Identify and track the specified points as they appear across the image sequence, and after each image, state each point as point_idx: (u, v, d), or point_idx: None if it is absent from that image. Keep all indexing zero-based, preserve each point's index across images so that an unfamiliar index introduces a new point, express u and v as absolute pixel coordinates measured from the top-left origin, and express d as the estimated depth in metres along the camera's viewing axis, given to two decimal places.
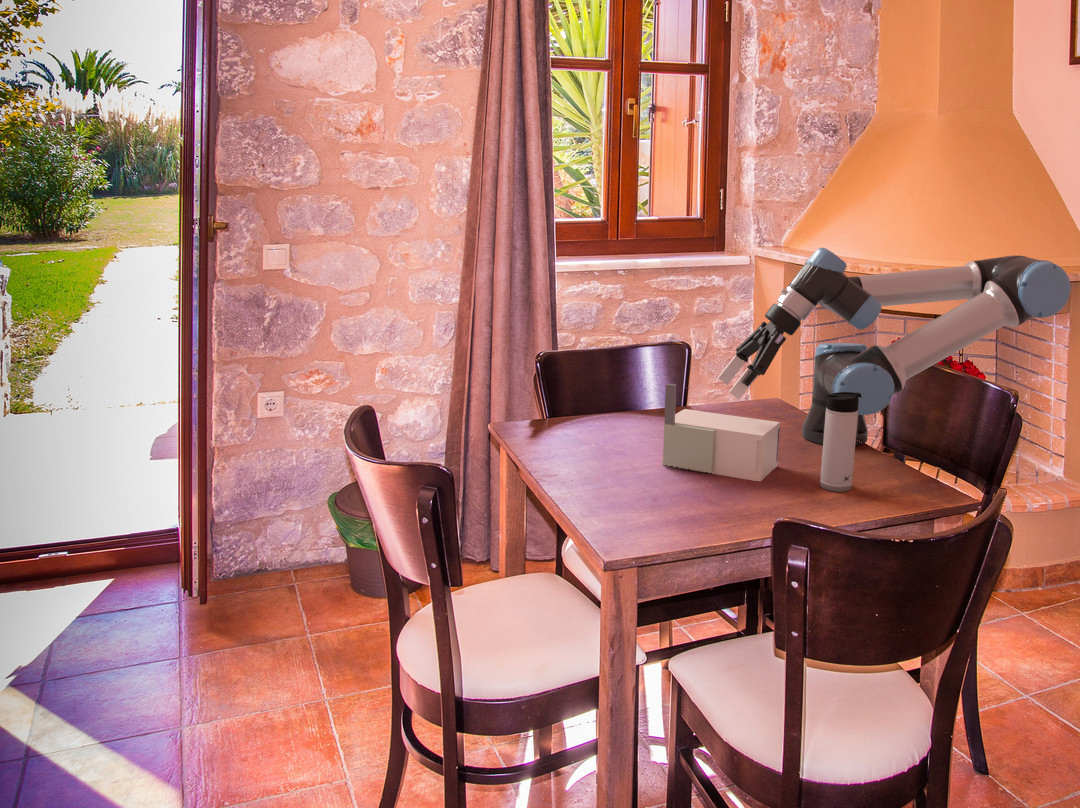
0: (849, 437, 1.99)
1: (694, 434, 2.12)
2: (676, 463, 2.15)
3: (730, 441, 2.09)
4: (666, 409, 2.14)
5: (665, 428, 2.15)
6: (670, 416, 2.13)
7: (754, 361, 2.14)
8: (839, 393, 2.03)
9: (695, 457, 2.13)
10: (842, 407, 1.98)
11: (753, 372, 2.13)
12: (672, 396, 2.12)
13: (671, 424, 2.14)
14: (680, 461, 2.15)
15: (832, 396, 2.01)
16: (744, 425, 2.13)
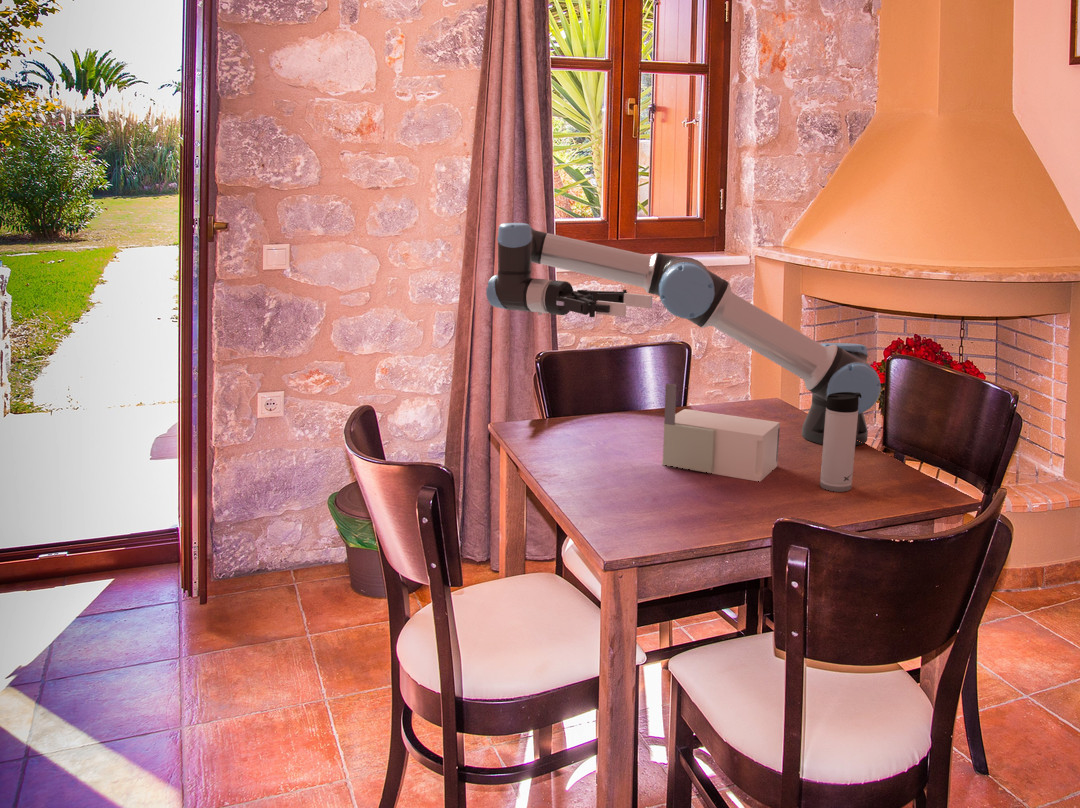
0: (849, 437, 1.99)
1: (694, 434, 2.12)
2: (676, 463, 2.15)
3: (730, 441, 2.09)
4: (666, 409, 2.14)
5: (665, 428, 2.15)
6: (670, 416, 2.13)
7: None
8: (839, 393, 2.03)
9: (695, 457, 2.13)
10: (842, 407, 1.98)
11: (593, 309, 2.08)
12: (672, 396, 2.12)
13: (671, 424, 2.14)
14: (680, 461, 2.15)
15: (832, 396, 2.01)
16: (744, 425, 2.13)
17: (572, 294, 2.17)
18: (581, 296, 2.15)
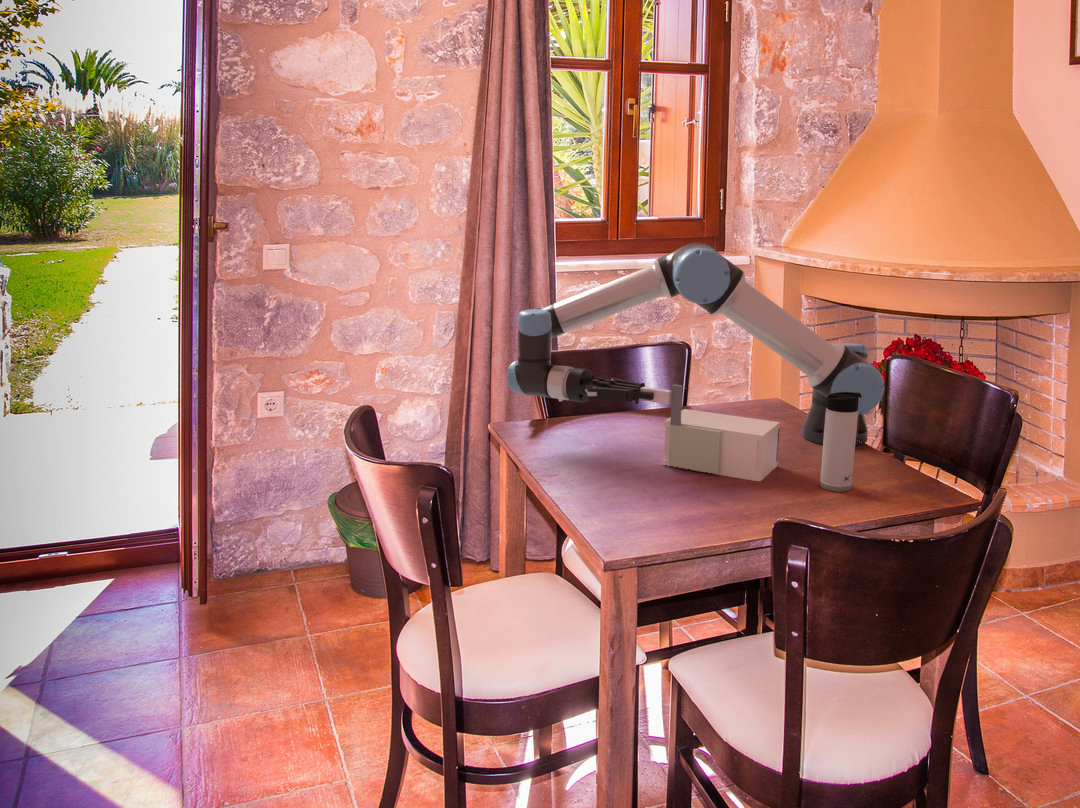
0: (849, 437, 1.99)
1: (700, 435, 2.11)
2: (682, 464, 2.15)
3: (730, 441, 2.09)
4: (672, 410, 2.13)
5: (671, 429, 2.14)
6: (676, 417, 2.13)
7: None
8: (839, 393, 2.03)
9: (701, 458, 2.12)
10: (842, 407, 1.98)
11: (637, 396, 2.14)
12: (678, 397, 2.12)
13: (677, 425, 2.13)
14: (686, 462, 2.14)
15: (832, 396, 2.01)
16: (744, 425, 2.13)
17: (595, 383, 2.18)
18: (610, 384, 2.17)
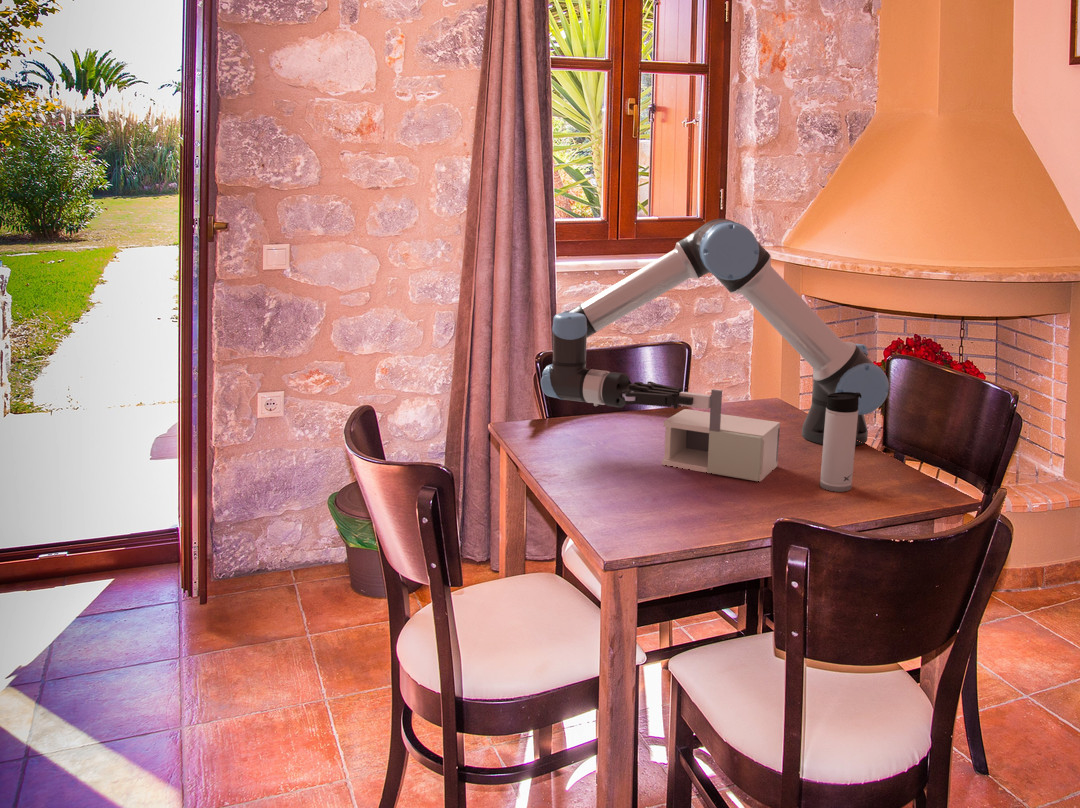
0: (849, 437, 1.99)
1: (740, 441, 2.07)
2: (721, 470, 2.10)
3: None
4: (711, 415, 2.09)
5: (710, 435, 2.10)
6: (715, 423, 2.09)
7: None
8: (839, 393, 2.03)
9: (741, 465, 2.08)
10: (842, 407, 1.98)
11: (676, 401, 2.10)
12: (718, 402, 2.07)
13: (716, 431, 2.09)
14: (725, 469, 2.10)
15: (832, 396, 2.01)
16: (744, 425, 2.13)
17: (632, 387, 2.14)
18: (648, 389, 2.13)
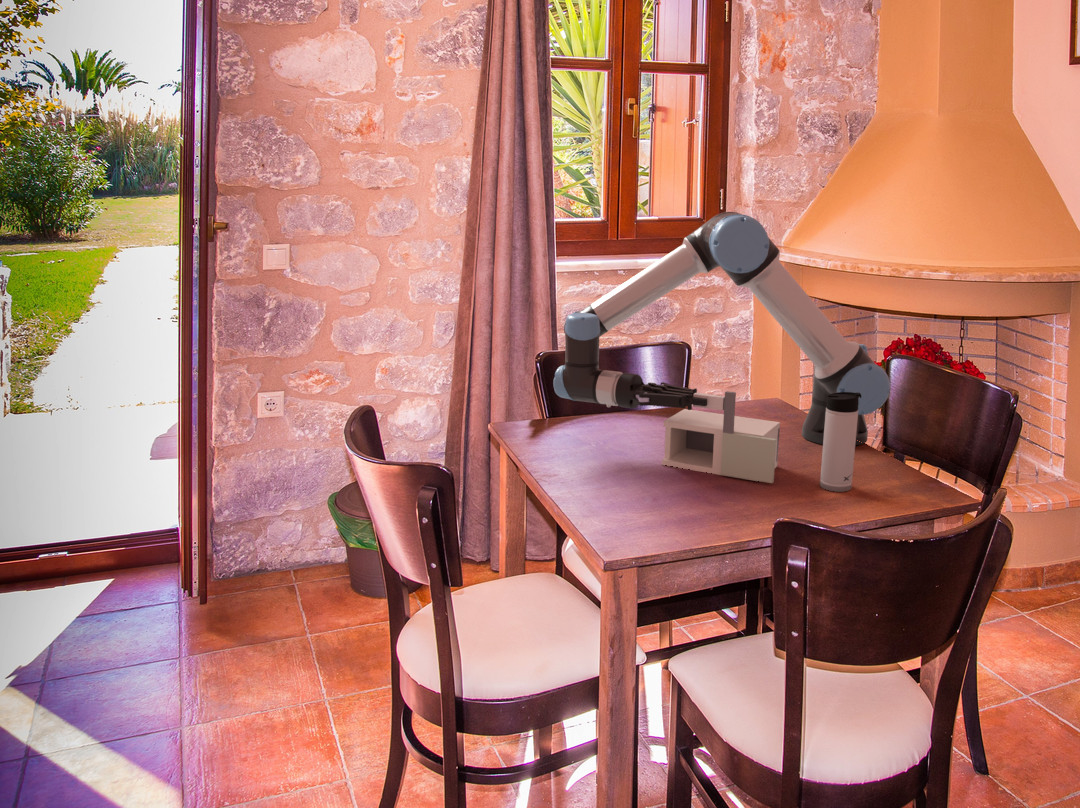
0: (849, 437, 1.99)
1: (754, 443, 2.05)
2: (734, 473, 2.09)
3: None
4: (725, 417, 2.07)
5: (724, 437, 2.08)
6: (729, 425, 2.07)
7: None
8: (839, 393, 2.03)
9: (755, 467, 2.06)
10: (842, 407, 1.98)
11: (690, 403, 2.09)
12: (731, 404, 2.06)
13: (730, 433, 2.07)
14: (739, 471, 2.08)
15: (832, 396, 2.01)
16: (744, 425, 2.13)
17: (646, 388, 2.13)
18: (662, 390, 2.12)
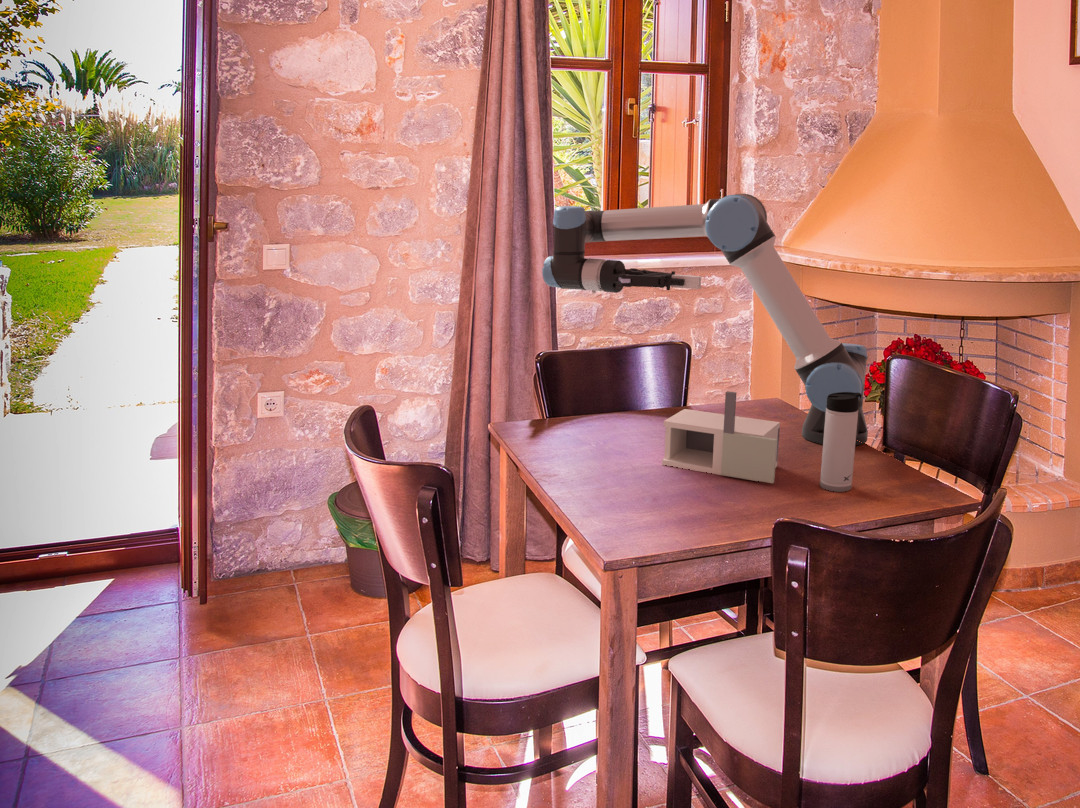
0: (849, 437, 1.99)
1: (755, 443, 2.05)
2: (735, 473, 2.09)
3: None
4: (725, 417, 2.07)
5: (724, 437, 2.08)
6: (730, 425, 2.07)
7: None
8: (839, 393, 2.03)
9: (756, 467, 2.06)
10: (842, 407, 1.98)
11: (669, 283, 2.25)
12: (732, 404, 2.06)
13: (731, 433, 2.07)
14: (740, 471, 2.08)
15: (832, 396, 2.01)
16: (744, 425, 2.13)
17: (628, 272, 2.30)
18: (642, 273, 2.29)
